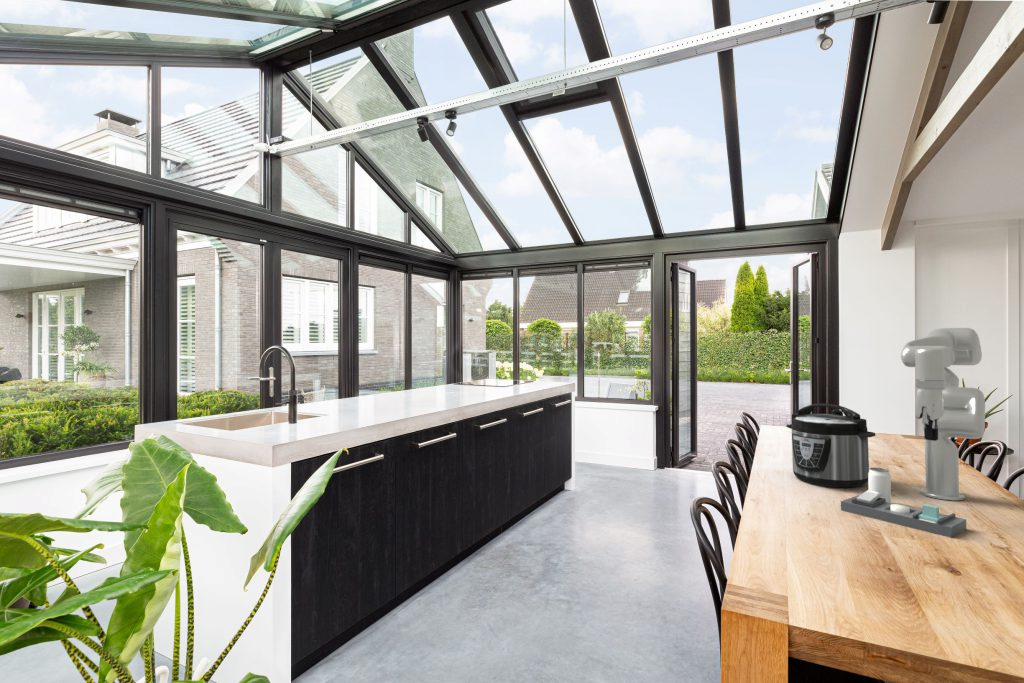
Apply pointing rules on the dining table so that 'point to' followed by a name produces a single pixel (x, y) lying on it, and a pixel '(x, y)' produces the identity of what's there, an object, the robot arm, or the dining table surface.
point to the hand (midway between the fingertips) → (931, 439)
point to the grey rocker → (869, 496)
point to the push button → (900, 508)
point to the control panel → (905, 516)
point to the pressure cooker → (830, 447)
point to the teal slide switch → (930, 513)
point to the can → (880, 482)
